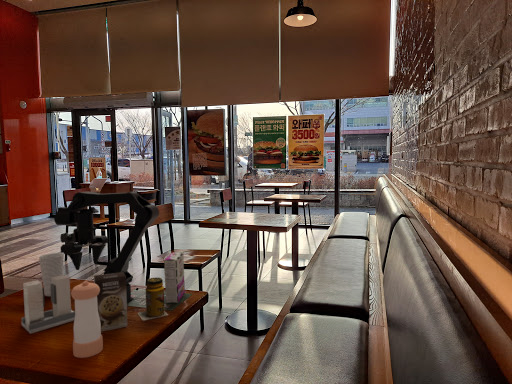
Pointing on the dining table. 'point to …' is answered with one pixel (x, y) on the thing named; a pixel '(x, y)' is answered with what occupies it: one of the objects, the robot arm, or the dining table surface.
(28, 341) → the dining table surface
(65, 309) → the finger
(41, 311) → the grey and white holder
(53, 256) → the cup
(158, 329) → the dining table surface
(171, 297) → the candy bar box
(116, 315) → the coffee box
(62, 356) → the dining table surface
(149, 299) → the condiment
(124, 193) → the robot arm
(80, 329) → the pepper shaker
